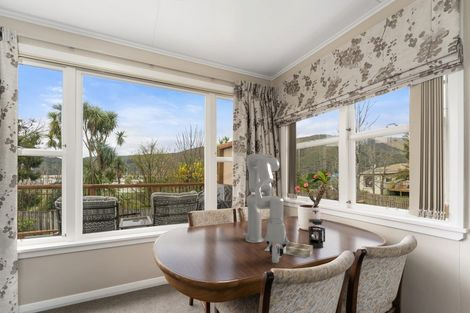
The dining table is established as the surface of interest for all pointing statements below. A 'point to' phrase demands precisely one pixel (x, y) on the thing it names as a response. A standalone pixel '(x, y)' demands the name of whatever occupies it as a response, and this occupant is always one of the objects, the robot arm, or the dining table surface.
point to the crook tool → (276, 253)
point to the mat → (285, 252)
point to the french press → (315, 243)
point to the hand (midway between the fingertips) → (276, 254)
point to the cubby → (299, 249)
